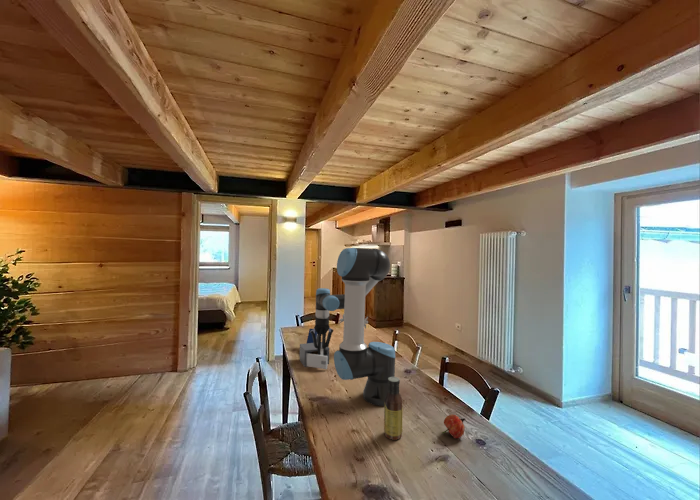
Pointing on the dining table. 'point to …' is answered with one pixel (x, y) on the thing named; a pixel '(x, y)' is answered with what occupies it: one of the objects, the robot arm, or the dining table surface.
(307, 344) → the block
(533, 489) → the dining table surface
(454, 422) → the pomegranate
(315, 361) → the door
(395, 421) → the sauce bottle
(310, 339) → the blue block
